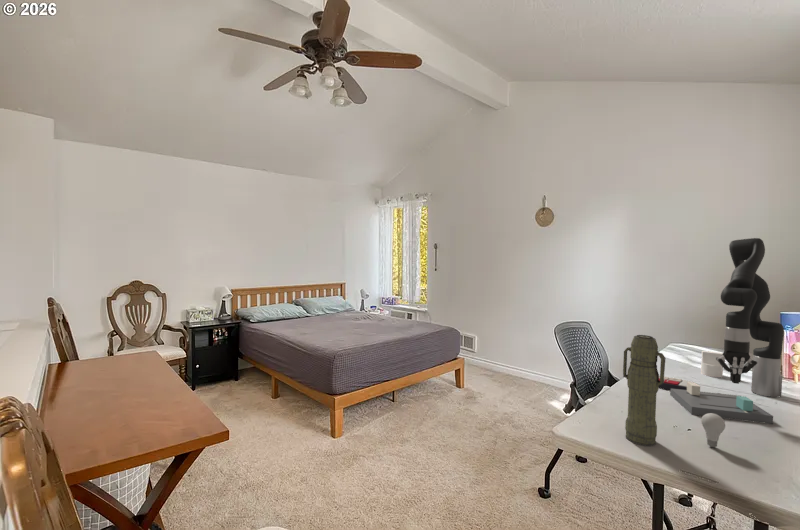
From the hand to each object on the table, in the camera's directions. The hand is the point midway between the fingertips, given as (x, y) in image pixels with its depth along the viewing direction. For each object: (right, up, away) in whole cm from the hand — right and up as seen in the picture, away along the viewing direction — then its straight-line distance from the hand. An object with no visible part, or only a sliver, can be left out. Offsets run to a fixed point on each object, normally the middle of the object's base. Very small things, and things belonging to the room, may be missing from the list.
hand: (735, 382), depth 152 cm
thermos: (-50, -13, -22) cm, 56 cm away
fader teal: (+3, -10, -1) cm, 10 cm away
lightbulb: (-30, -13, -26) cm, 42 cm away
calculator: (-2, -13, +32) cm, 34 cm away
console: (-1, -13, +7) cm, 15 cm away
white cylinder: (+34, -12, +53) cm, 64 cm away
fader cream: (-5, -9, +15) cm, 18 cm away
